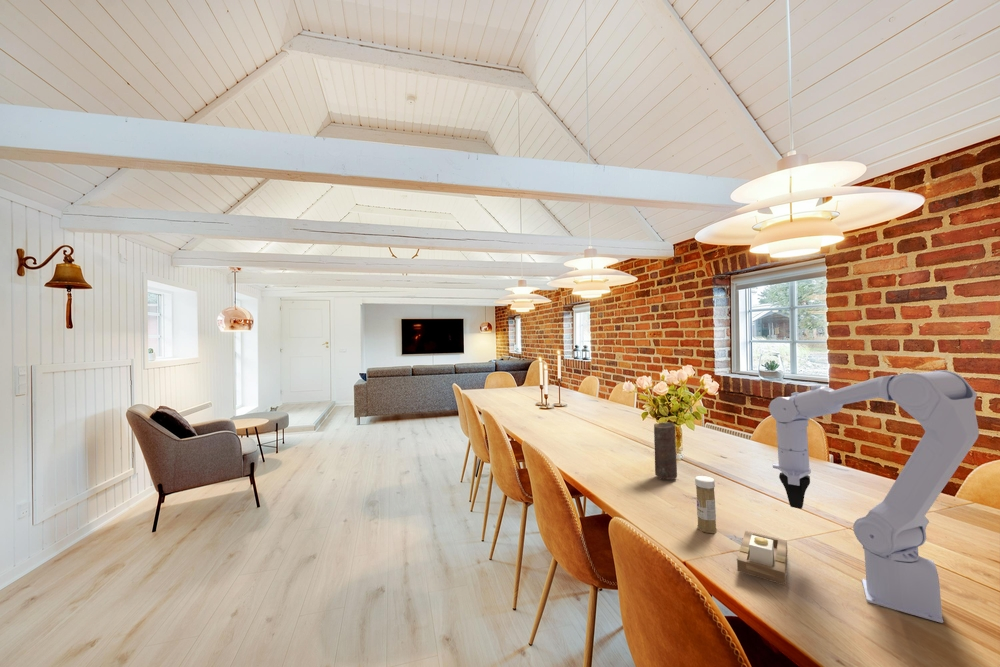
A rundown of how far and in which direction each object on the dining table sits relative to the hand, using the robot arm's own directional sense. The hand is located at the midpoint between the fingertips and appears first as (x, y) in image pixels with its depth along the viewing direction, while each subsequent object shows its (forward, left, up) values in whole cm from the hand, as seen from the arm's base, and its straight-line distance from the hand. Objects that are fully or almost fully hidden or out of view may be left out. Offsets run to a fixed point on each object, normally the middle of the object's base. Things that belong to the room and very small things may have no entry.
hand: (796, 506), depth 88 cm
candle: (+38, -33, -11) cm, 51 cm away
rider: (+6, +14, -8) cm, 17 cm away
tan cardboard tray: (+6, +11, -10) cm, 16 cm away
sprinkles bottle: (+19, 0, -11) cm, 22 cm away
